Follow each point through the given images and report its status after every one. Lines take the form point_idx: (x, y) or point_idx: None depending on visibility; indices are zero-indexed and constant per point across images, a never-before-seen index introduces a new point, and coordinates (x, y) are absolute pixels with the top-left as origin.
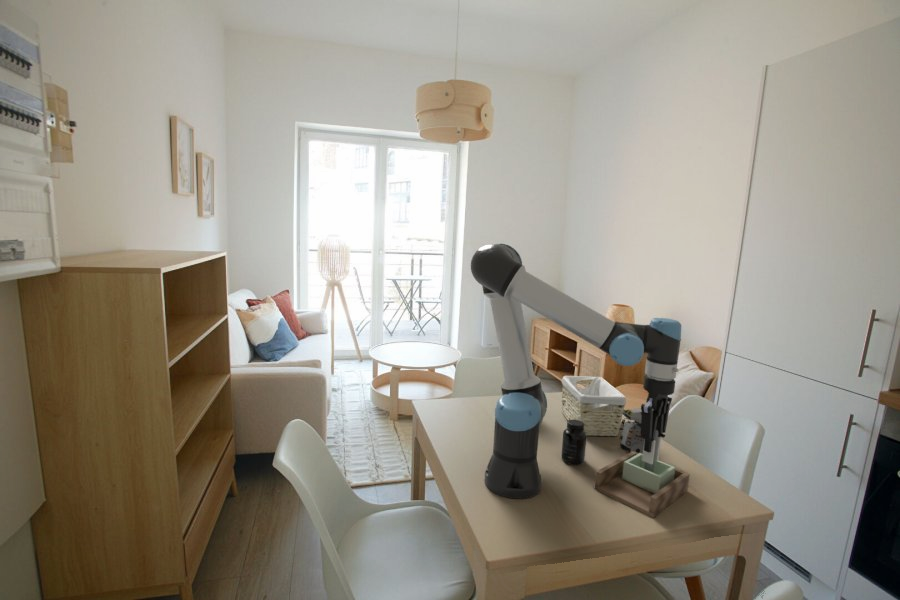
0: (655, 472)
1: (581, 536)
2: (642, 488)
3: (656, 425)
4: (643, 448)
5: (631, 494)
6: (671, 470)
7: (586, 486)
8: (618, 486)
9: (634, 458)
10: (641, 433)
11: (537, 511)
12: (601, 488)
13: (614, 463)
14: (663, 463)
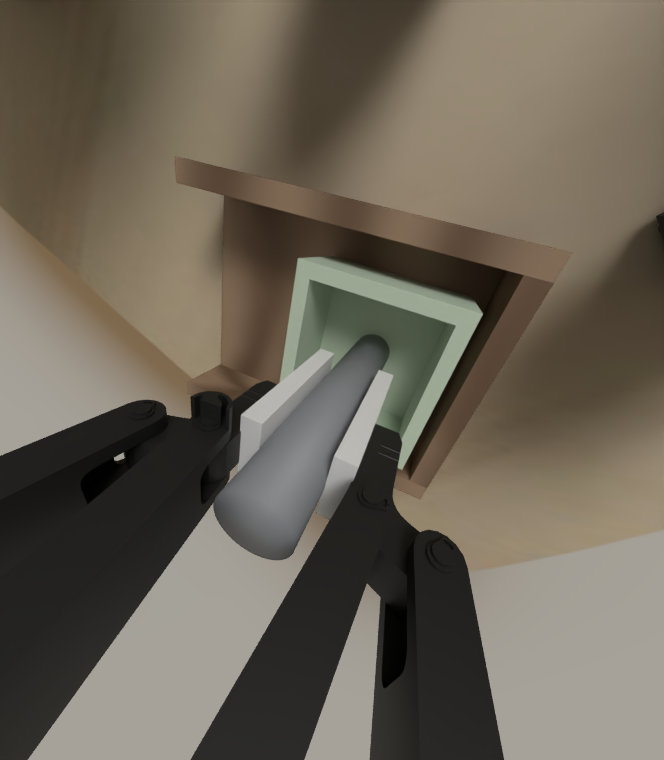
0: (421, 379)
1: (63, 244)
2: None
3: (125, 618)
4: (287, 377)
5: (262, 310)
6: None
7: (227, 138)
8: (277, 258)
9: (375, 299)
10: (92, 425)
11: (18, 80)
12: (224, 206)
13: (307, 204)
14: (409, 430)
